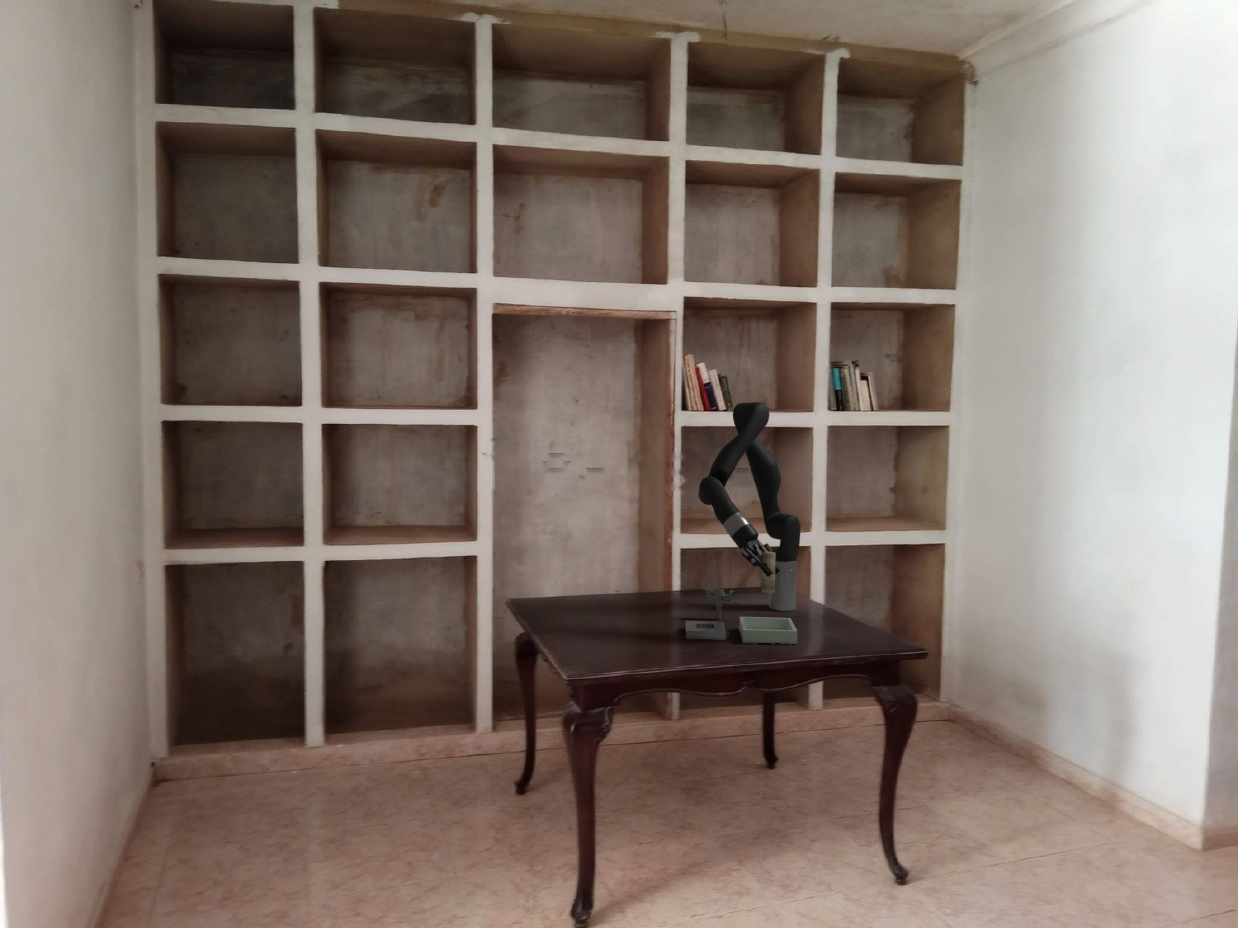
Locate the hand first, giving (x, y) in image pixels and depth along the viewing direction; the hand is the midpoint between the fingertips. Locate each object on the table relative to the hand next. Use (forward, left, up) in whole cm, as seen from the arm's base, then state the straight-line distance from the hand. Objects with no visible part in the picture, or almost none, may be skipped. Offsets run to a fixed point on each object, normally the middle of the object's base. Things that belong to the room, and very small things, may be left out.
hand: (774, 573), depth 259 cm
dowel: (-1, -2, -6) cm, 6 cm away
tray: (-1, -2, -20) cm, 20 cm away
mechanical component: (-21, -16, -20) cm, 33 cm away
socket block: (-2, -21, -20) cm, 29 cm away
